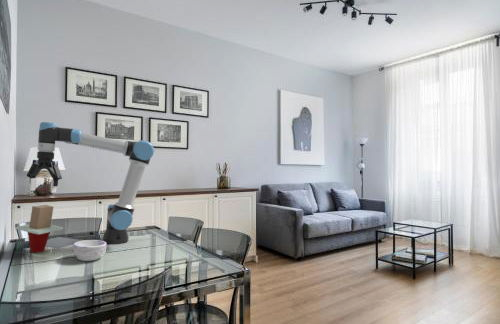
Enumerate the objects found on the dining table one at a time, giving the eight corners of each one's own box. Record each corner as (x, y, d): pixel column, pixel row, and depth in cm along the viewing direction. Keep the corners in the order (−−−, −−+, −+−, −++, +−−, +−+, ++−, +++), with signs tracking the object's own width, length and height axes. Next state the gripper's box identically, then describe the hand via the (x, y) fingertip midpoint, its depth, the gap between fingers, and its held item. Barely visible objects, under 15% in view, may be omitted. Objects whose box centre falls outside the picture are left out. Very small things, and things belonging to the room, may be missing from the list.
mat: (85, 241, 188) (85, 240, 188) (58, 249, 168) (58, 248, 168) (58, 237, 192) (58, 236, 193) (29, 244, 173) (29, 244, 173)
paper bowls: (112, 257, 161) (113, 241, 162) (88, 265, 147) (89, 248, 147) (89, 252, 166) (90, 237, 167) (64, 260, 152) (65, 243, 152)
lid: (63, 229, 168) (66, 207, 168) (38, 234, 153) (42, 210, 153) (41, 224, 171) (44, 202, 171) (14, 228, 157) (18, 205, 157)
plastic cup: (37, 255, 155) (39, 232, 156) (19, 253, 158) (21, 229, 158) (55, 250, 166) (56, 228, 166) (38, 248, 168) (40, 226, 168)
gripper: (20, 149, 162) (17, 190, 162) (59, 152, 157) (56, 193, 156) (33, 150, 170) (30, 189, 169) (71, 153, 164) (68, 193, 163)
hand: (42, 191), depth 163 cm, fingers open, 13 cm apart
